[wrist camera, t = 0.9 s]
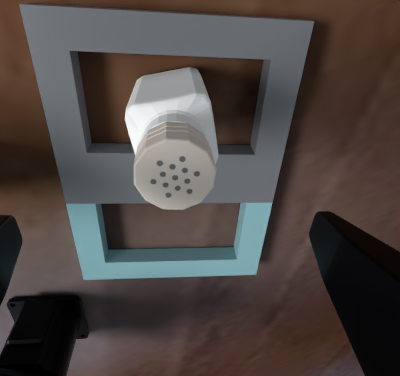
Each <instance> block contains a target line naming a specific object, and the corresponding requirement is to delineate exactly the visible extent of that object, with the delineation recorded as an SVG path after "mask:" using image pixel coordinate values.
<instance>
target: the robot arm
mask: <svg viewBox="0 0 400 376" xmlns="http://www.w3.org/2000/svg"><path fill="white" fill-rule="evenodd" d="M309 237H310V241H311V244H312V248H313V251H314V254H315V257H316V260H317V263H318V267H319V270H320V273H321V276H322V279H323V282H324V284H325V286H326V289H327V291H328V293H329V296H330V298H331V300H332V302H333V305H334V307H335V309H336V311H337V314H338V316H339V318H340V321H341V323H342V325H343V327H344V330H345V332H346V334H347V336H348V339H349V341H350V343H351V345H352V348H353V350H354V352H355V354H356V357H357V359H358V361H359V364H360V366H361V368H362V370H363V373H364V375H365V376H400V252H399V251H397V250H395V249H394V248H392V247H390V246H389V245H387V244H385V243H383V242H382V241H380V240H378V239H377V238H375V237H373V236H371V235H370V234H368V233H366V232H365V231H363V230H361V229H359V228H358V227H356V226H354V225H353V224H351V223H349V222H347V221H346V220H344V219H342V218H341V217H339V216H337V215H336V214H334V213H332V212H329V211H321V212H317V213H316V214H315V216H314V219H313V222H312V225H311V228H310V232H309ZM21 246H22V236H21V233H20V230H19V227H18V225H17V222H16V219H15V218H14V217H13V216H11V215H0V305H1V303H2V301H3V299H4V296H5V294H6V291H7V289H8V286H9V283H10V280H11V277H12V274H13V271H14V268H15V264H16V261H17V258H18V255H19V252H20V249H21ZM7 307H8V309H9V311H10V313H11V315H12V317H13V319H14V322H15V323H14V325H13V327H12V330H11V332H10V334H9V336H8V338H7V340H6V343H5V346H4V348H3V350H2V352H1V354H0V376H66V375H67V371H68V367H69V364H70V360H71V356H72V353H73V349H74V345H75V341H76V339H85V338H87V337H88V335H89V330H88V326H87V322H86V319H85V315H84V311H83V307H82V303H81V299H80V298H79V297H77V296H58V297H30V298H11V299H9V301H8V303H7Z"/></svg>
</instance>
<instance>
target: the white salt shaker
mask: <svg viewBox="0 0 400 376" xmlns="http://www.w3.org/2000/svg"><path fill="white" fill-rule="evenodd" d="M125 121H126V125H127V129H128V133H129V136H130V140H131V143H132V147H133V150H134V153H135V160H134V165H133V166H134V185H135V186H136V188H137V189H138V191H139V192H140V194H141V195H142V197H143V198H144V199H145V200H146V201H148V202H150V203H152V204H154V205H156V206H158V207H160V208H162V209H174V210H184V209H186V208H189V207H191V206H193V205H196V204H198V203H201V202H202V201H203V200H204V198H205V197H206V196H207V195H208V194H209V193H210V191H211V190H212V189H213V188H214V183H215V176H216V170H217V169H216V165H215V164H216V162H217V160H218V157H219V155H218V147H217V139H216V132H215V125H214V118H213V112H212V106H211V101H210V98H209V96H208V93H207V90H206V88H205V85H204V82H203V79H202V77H201V75H200V73H199V71H198V70H197V69H196V68H192V67H187V68H182V69H176V70H171V71H166V72H160V73H155V74H150V75H144V76H142V77H141V78H139V79H138V80H137V81H136V84H135V86H134V89H133V92H132V94H131V97H130V99H129V102H128V105H127V107H126V114H125Z"/></svg>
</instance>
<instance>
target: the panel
mask: <svg viewBox="0 0 400 376" xmlns="http://www.w3.org/2000/svg"><path fill="white" fill-rule="evenodd" d="M19 6H20V10H21V14H22V18H23V23H24V27H25V31H26V35H27V40H28V44H29V48H30V53H31V57H32V61H33V65H34V70H35V74H36V78H37V82H38V87H39V91H40V95H41V99H42V104H43V108H44V112H45V117H46V121H47V125H48V129H49V134H50V138H51V142H52V146H53V151H54V155H55V159H56V164H57V168H58V172H59V176H60V181H61V185H62V189H63V193H64V198H65V202H66V206H67V210H68V215H69V219H70V223H71V228H72V232H73V236H74V240H75V245H76V249H77V253H78V257H79V262H80V266H81V270H82V274H83V279H84V280H97V279H130V278H163V277H196V276H230V275H256V272H257V268H258V264H259V259H260V255H261V251H262V246H263V242H264V238H265V233H266V229H267V225H268V220H269V216H270V212H271V207H272V203H273V199H274V194H275V190H276V186H277V181H278V177H279V173H280V168H281V164H282V159H283V155H284V151H285V146H286V142H287V138H288V133H289V129H290V125H291V120H292V116H293V112H294V107H295V103H296V99H297V94H298V90H299V86H300V81H301V77H302V73H303V68H304V64H305V60H306V55H307V51H308V47H309V42H310V38H311V33H312V29H313V25H314V21H310V20H305V19H291V18H274V17H257V16H240V15H223V14H206V13H189V12H172V11H155V10H138V9H121V8H104V7H86V6H69V5H52V4H35V3H28V4H19ZM78 51H85V52H108V53H131V54H153V55H176V56H199V57H221V58H244V59H264V60H263V66H262V72H261V79H260V85H259V91H258V98H257V104H256V110H255V116H254V123H253V129H252V135H251V142H250V145H217V147H218V155H219V157H218V160H217V162H216V164H215V165H216V169H217V170H216V176H215V183H214V188H213V189H212V190H211V191H210V193H209V194H208V195H207V196H206V197H205V198H204V200H203V201H202V202H201V203H241V205H240V211H239V217H238V223H237V230H236V236H235V242H234V247H214V248H165V249H116V250H108V245H107V238H106V232H105V225H104V219H103V212H102V206H101V204H121V203H150V202H148V201H146V200H145V199H144V198H143V197H142V195H141V194H140V192H139V191H138V189H137V188H136V186H135V185H134V166H133V165H134V160H135V153H134V150H133V147H132V144H122V143H92V141H91V135H90V128H89V122H88V116H87V109H86V103H85V96H84V90H83V83H82V77H81V70H80V64H79V58H78Z"/></svg>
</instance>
